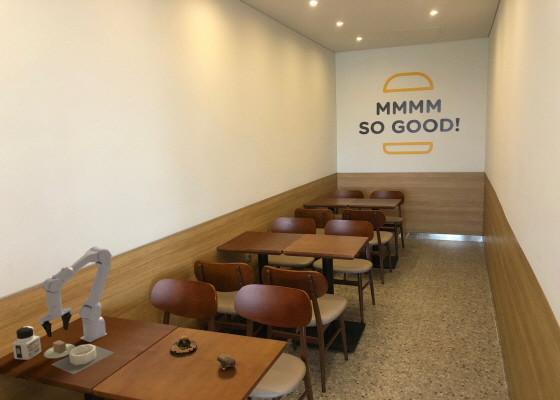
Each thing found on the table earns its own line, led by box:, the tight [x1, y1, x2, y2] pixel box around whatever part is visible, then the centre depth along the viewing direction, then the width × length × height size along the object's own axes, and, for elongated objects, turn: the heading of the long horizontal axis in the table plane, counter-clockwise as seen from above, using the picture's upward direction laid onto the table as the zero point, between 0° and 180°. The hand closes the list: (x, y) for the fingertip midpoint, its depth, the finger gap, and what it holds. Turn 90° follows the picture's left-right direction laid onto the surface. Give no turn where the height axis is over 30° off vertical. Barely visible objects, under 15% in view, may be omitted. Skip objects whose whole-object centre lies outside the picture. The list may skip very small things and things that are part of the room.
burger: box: [169, 331, 198, 354], centre depth 195 cm, size 12×12×8 cm
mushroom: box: [216, 353, 237, 370], centre depth 179 cm, size 8×8×6 cm
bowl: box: [68, 343, 97, 365], centre depth 189 cm, size 10×10×4 cm
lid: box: [43, 339, 76, 359], centre depth 196 cm, size 13×13×5 cm
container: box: [12, 325, 42, 361], centre depth 193 cm, size 8×8×13 cm
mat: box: [51, 344, 115, 375], centre depth 189 cm, size 20×16×1 cm
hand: (57, 332), depth 195 cm, fingers open, 7 cm apart
